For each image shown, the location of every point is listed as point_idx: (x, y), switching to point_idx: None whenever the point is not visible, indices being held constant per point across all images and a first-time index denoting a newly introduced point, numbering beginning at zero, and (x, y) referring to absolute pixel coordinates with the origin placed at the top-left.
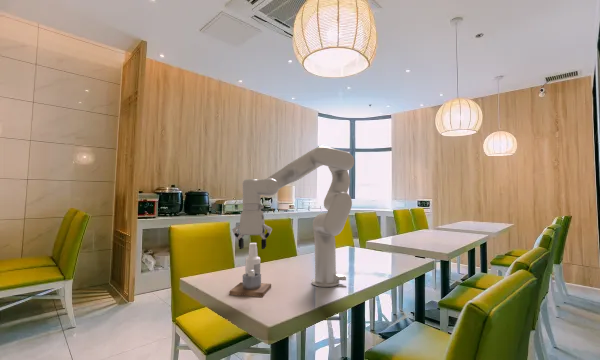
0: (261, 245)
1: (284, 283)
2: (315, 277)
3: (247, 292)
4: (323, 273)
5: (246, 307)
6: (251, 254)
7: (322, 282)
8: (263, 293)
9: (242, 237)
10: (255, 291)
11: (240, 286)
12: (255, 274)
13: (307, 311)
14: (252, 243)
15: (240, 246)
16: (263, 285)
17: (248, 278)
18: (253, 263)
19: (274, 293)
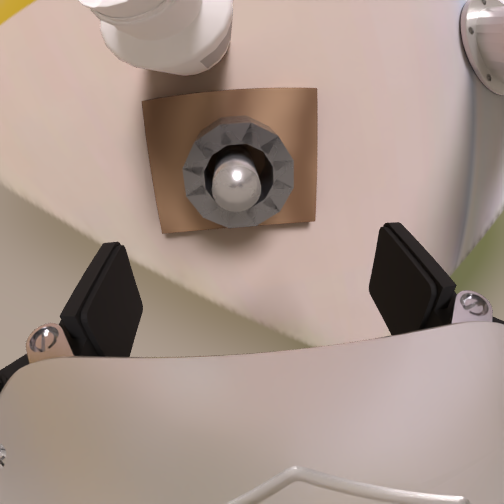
0: (381, 314)
1: (358, 26)
2: (490, 50)
3: None
4: None
5: (283, 309)
6: (153, 37)
7: (500, 80)
8: (314, 214)
9: (68, 342)
10: (278, 215)
11: (175, 163)
12: (250, 145)
13: None
14: None
15: (133, 328)
16: (287, 124)
17: (240, 224)
18: (195, 62)
19: (347, 171)
